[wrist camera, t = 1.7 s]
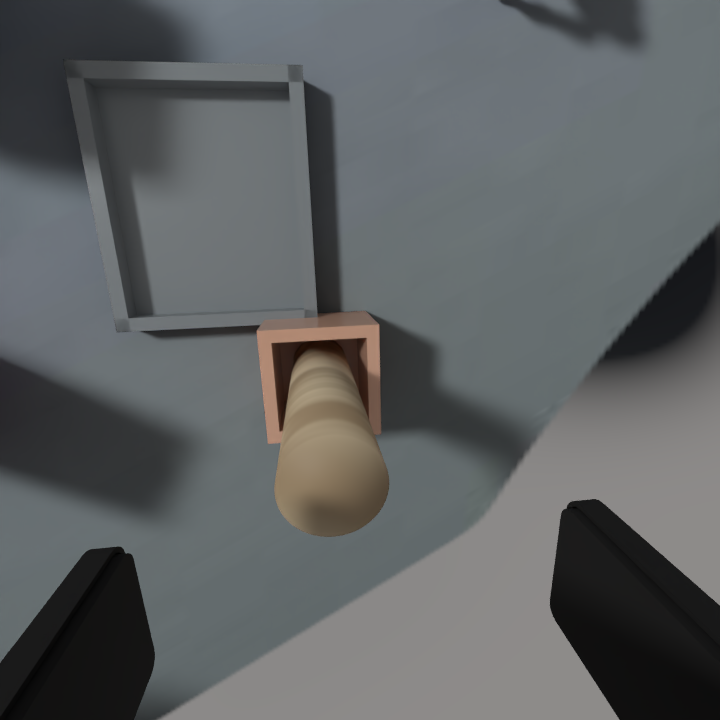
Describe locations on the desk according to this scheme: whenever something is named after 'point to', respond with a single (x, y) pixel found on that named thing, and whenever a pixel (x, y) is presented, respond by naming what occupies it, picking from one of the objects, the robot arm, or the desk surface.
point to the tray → (197, 190)
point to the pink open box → (288, 334)
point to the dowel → (328, 447)
